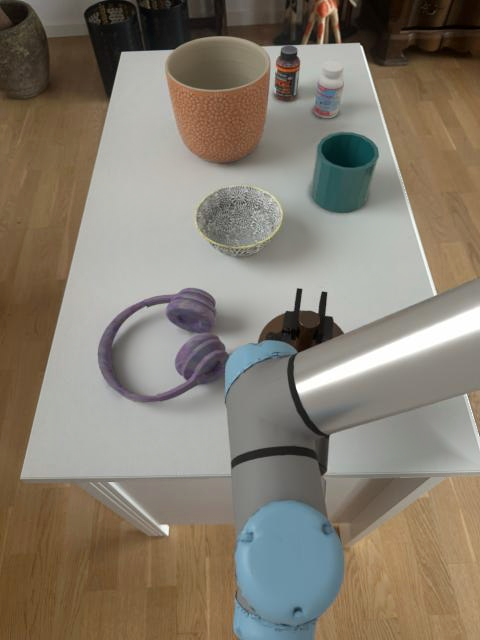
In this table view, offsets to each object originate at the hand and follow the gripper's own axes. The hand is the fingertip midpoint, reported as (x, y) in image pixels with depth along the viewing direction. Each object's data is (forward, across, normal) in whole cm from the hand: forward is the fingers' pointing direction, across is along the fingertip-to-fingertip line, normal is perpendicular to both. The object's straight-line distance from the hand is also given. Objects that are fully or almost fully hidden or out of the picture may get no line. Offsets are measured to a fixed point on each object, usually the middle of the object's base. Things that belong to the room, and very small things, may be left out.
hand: (310, 296), depth 60 cm
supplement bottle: (+74, -12, -16) cm, 77 cm away
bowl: (+22, -14, -16) cm, 31 cm away
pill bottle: (+68, -1, -16) cm, 70 cm away
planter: (+51, -23, -16) cm, 58 cm away
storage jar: (+39, +4, -16) cm, 42 cm away
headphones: (-4, -22, -16) cm, 27 cm away
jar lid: (-5, 0, -5) cm, 8 cm away
